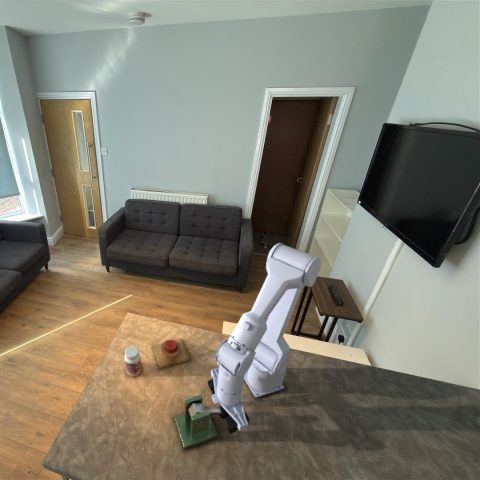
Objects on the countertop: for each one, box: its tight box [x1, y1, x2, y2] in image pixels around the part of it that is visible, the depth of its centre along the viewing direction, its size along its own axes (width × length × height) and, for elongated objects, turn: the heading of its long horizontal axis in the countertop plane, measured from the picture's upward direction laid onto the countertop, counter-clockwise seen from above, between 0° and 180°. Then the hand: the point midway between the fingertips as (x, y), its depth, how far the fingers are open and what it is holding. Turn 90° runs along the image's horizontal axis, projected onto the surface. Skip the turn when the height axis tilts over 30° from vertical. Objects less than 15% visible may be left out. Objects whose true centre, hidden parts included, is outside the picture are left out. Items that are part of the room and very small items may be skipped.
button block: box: [152, 338, 191, 369], centre depth 86 cm, size 10×8×3 cm
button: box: [165, 339, 176, 353], centre depth 85 cm, size 4×4×2 cm
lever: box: [188, 403, 230, 421], centre depth 65 cm, size 12×3×3 cm, turn 107°
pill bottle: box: [124, 345, 142, 377], centre depth 80 cm, size 5×5×8 cm
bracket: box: [174, 394, 219, 450], centre depth 65 cm, size 9×7×9 cm
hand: (224, 415), depth 68 cm, fingers open, 7 cm apart
